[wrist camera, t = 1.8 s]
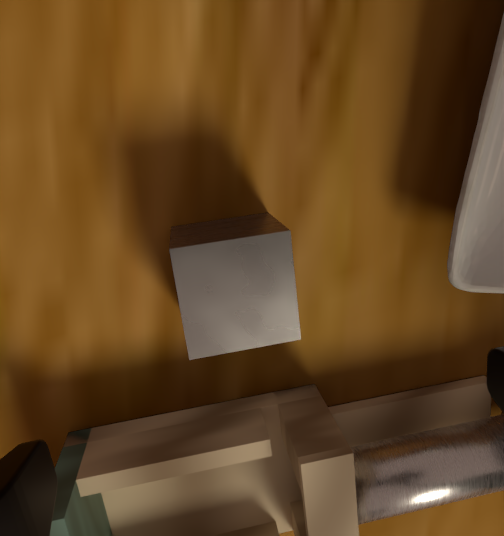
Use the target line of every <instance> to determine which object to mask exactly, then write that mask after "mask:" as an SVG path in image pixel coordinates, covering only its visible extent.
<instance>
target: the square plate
mask: <svg viewBox="0 0 504 536" xmlns="http://www.w3.org/2000/svg"><path fill="white" fill-rule="evenodd" d="M447 268H448V278H449V281H450V283H451V284H452V285H453V286H454V287H456V288H457V289H461V290H464V291H468V292H482V293H504V13H503V17H502V22H501V26H500V30H499V34H498V38H497V42H496V46H495V50H494V54H493V59H492V63H491V68H490V72H489V76H488V80H487V84H486V87H485V91H484V94H483V98H482V102H481V107H480V111H479V118H478V123H477V126H476V130H475V134H474V138H473V142H472V147H471V151H470V155H469V159H468V163H467V167H466V170H465V175H464V179H463V183H462V188H461V193H460V196H459V200H458V204H457V207H456V213H455V218H454V224H453V230H452V236H451V242H450V247H449V255H448V262H447Z"/></svg>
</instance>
